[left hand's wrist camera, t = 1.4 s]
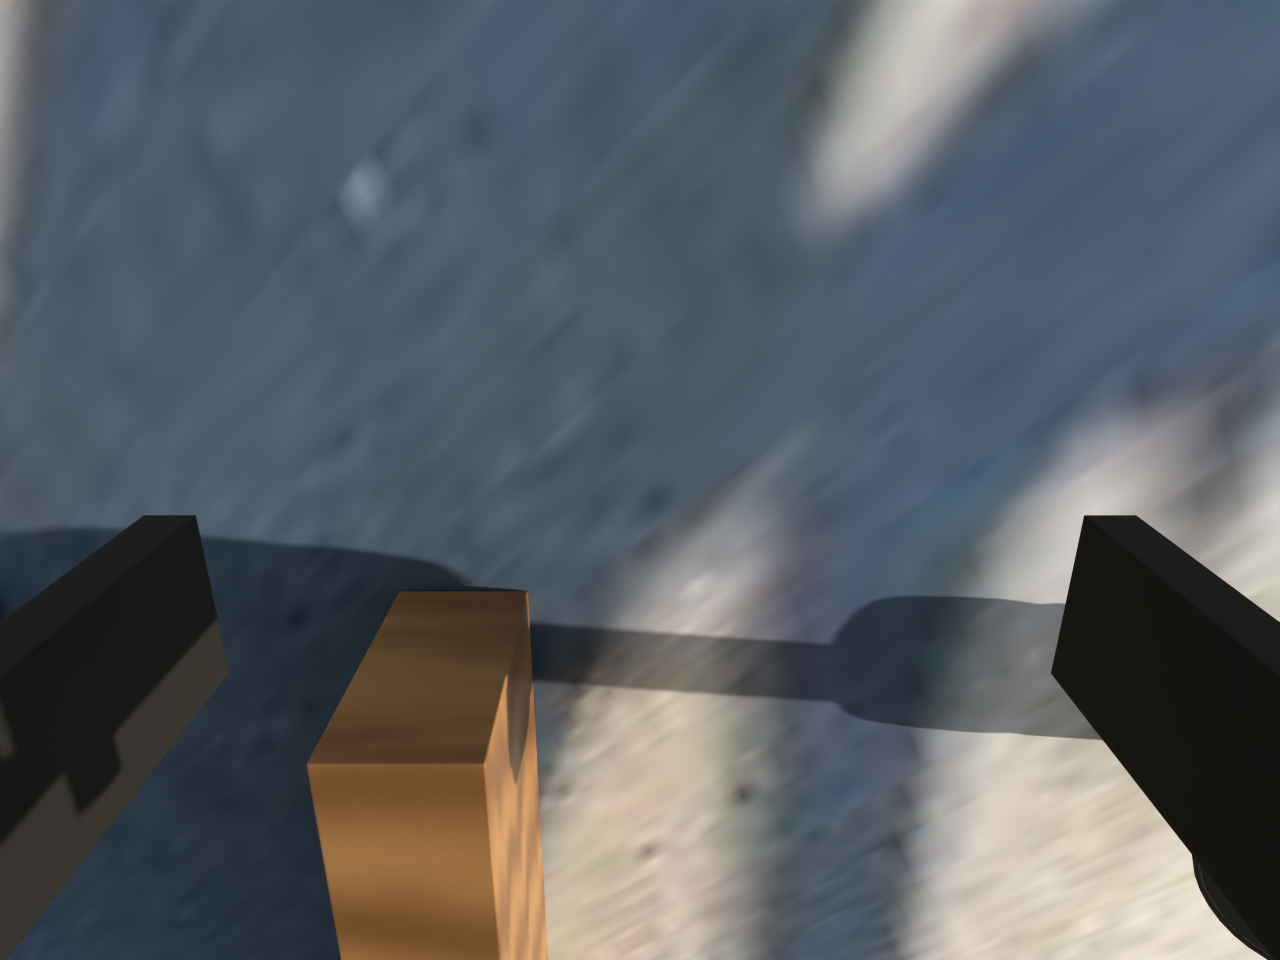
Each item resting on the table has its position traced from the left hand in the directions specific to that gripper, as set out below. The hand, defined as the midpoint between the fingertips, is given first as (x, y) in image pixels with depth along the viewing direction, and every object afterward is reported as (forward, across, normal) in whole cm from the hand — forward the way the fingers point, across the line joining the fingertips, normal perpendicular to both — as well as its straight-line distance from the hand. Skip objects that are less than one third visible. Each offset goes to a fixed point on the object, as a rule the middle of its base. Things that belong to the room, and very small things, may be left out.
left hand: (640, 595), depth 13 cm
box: (+26, -9, -28) cm, 39 cm away
